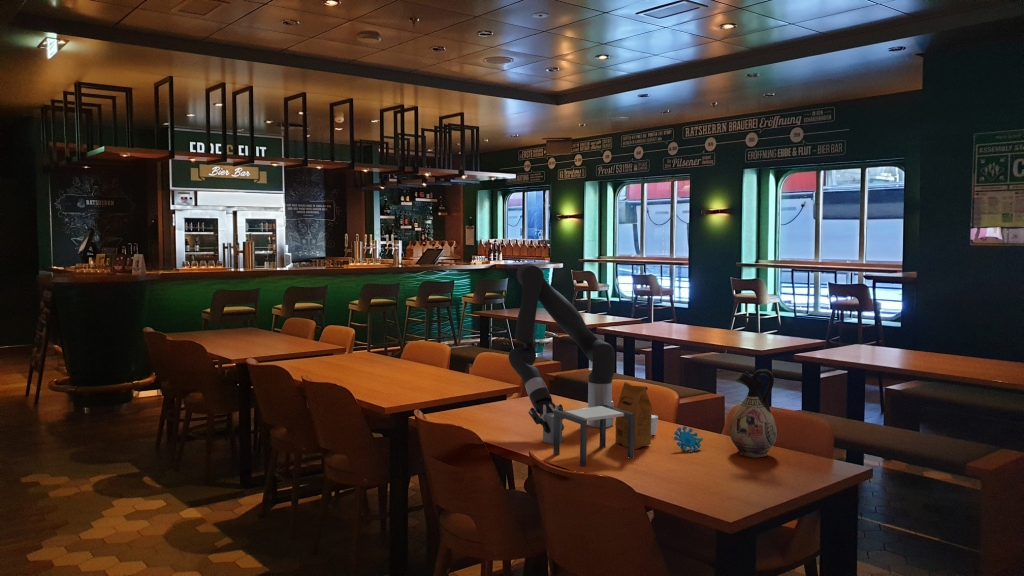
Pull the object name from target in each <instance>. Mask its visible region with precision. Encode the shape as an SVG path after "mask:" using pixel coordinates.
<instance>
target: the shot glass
mask: <svg viewBox="0 0 1024 576" xmlns="http://www.w3.org/2000/svg"><path fill="white" fill-rule="evenodd" d="M658 419H659V415H656V414H652V413H651V435H655V434H656V435H657V429H658ZM656 435H655V436H656Z"/></svg>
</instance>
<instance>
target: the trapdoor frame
mask: <svg viewBox="0 0 1024 576" xmlns="http://www.w3.org/2000/svg"><path fill="white" fill-rule="evenodd" d="M600 406H603V407H606V408H609V409H612V410H616V411H619V412H622V413H624V417H627V418H628V447H626V449H627V450H626V452H627V453H626V454H627V455H626V457H629V458H628V459H630V458H631V459H634V458H635V455H634V454H635V452H634V451H635V449H634V415H635V414H634V413H630V412H627V411H624V410H621V409H617V407H615V406H614V407H611V406H608V405H604V404H602V405H600ZM560 419H563V420H568V421H570V422H573V423H576V424H579V425H580V426H579V427H580V428H579V429H580V430H579V432H580V433H579V466H580V467H587V444H588V443H587V442H588V441H587V440H588V436H587V434H588V431H587V430H588V421H587V420H585V419H582V418H579V417H576V416H574V415H571V414H568V413H565V412H562V411H559V410H556V409H555V410H554V444H552V445H553V447H552V448H553V451H552V453H553V455H554V456H557V455H558V456H559V455H560V445H561V443H560ZM606 436H607V427H606V419H600V428H599V447H600V448H602V447H603V448H606V442H607V441H606ZM633 457H634V458H633Z"/></svg>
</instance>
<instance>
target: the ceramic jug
mask: <svg viewBox="0 0 1024 576" xmlns="http://www.w3.org/2000/svg"><path fill="white" fill-rule="evenodd" d="M759 376H765V377H767V378H768V384H767V387H766V390H765V392H764V393H763V396H762V395H761V393H760V390H759V389H762V388H764V387H765V385H764V383H763V381H761V379H759ZM735 381H736V382H737V383H739V384H742V385H744V386H745V387H747V389H748V392H747V395H746V396H745V398H744V399H743V400H742V402H741V403H740V404H739V406H738V407H737V409H736V410H735V412H734V414H733V416H732V419H731V421H730V425H729V437H730V439H731V441H732V443H733V445H734V446H735V447H736V449H737V453H738V454H739V455H740V454H741V455H740V456H743V455H744V457H747V456H748V457H749V458H763V457H766V456H768V452H769V450H770V449H771V448H772V447H773V446H774V445H775V444H776V440H777V436H778V435H777V433H778V432H777V431H778V430H777V425H776V421H775V418H774V416H773V414H772V412H771V408H770V404H769V398H770V395H771V392H772V389H773V388H774V383H775V376H774V374H773V373H772V371H771V370H769V369H767V368H761V369H757V370H755V372H754V373H753V374H752V375H751V374H750V372H748V370H747V371H746V370H745V372H743V373H742V374H740V375H739V376H738V377H737V378H736V380H735Z"/></svg>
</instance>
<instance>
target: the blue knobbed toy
mask: <svg viewBox="0 0 1024 576" xmlns="http://www.w3.org/2000/svg"><path fill="white" fill-rule="evenodd" d="M687 429H688V428H687V426H682V427H677V428H676V430H675V431H674V433H673V435H675V436H674V438H673V439H674V441H677V442H676V445H677V446H678V447H680V446H681V447H682V448H681V447H680V448H681V449H682V450H683V451H686V450H687V448H689V449H688V451H692V452H693V451H694V452H697V451H698V450H699V448H700V447H701V446H702V444H701V443H702V442H703V441H704V438H703V437H698V436H699V434H698V432H697V431H696V432H693V431H694V430H693V428H689V429H688V431H686V430H687ZM682 430H683V431H682ZM692 432H693V433H692Z"/></svg>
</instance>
